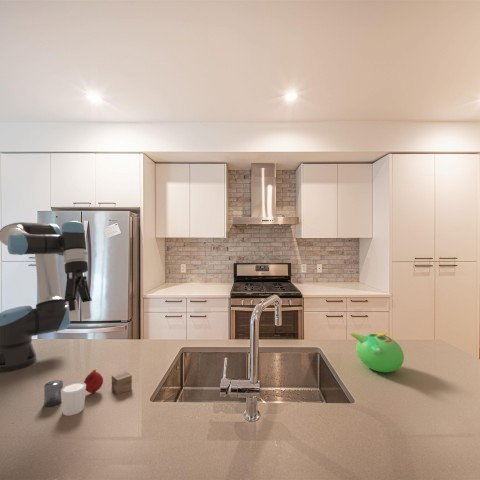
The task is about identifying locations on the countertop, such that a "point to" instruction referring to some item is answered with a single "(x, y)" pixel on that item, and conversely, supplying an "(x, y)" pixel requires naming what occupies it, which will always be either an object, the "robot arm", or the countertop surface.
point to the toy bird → (379, 352)
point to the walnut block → (121, 382)
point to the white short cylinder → (73, 398)
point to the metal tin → (52, 393)
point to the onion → (93, 382)
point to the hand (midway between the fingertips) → (80, 319)
